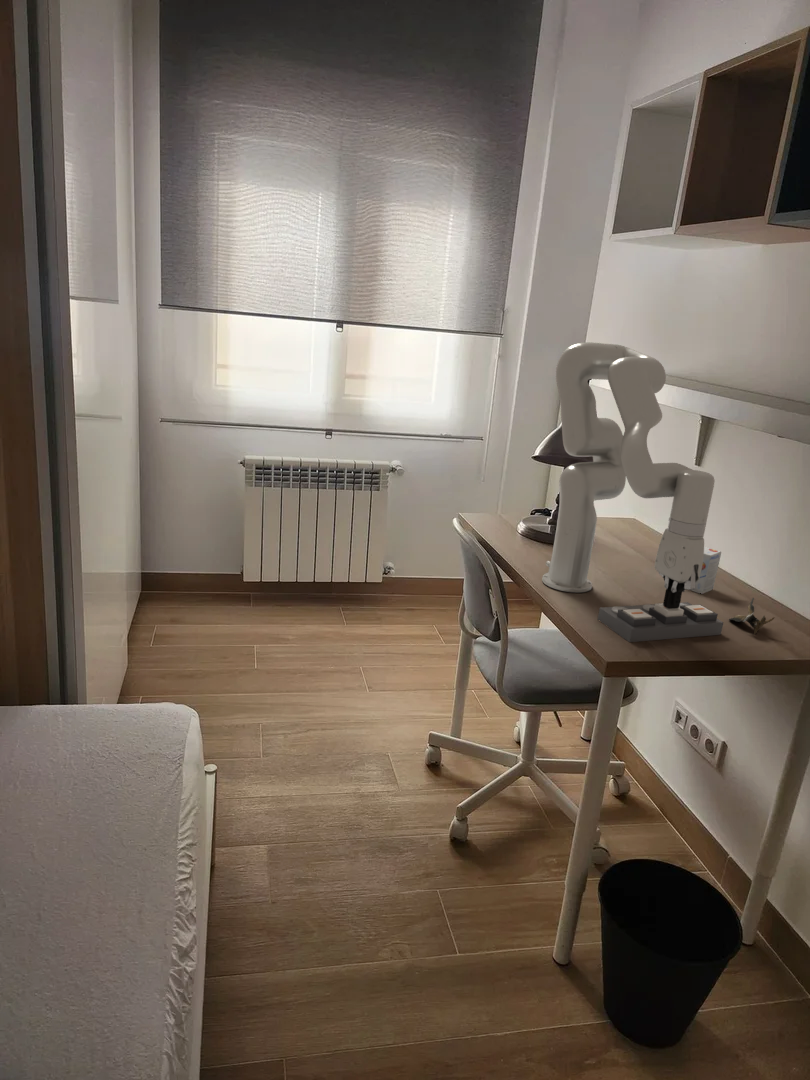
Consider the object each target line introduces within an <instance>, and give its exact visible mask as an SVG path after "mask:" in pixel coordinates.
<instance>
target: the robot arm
mask: <svg viewBox="0 0 810 1080" xmlns="http://www.w3.org/2000/svg"><path fill="white" fill-rule="evenodd" d="M555 369H556V370H555V380H556V386H557V391H558V395H559V402H560V403H559V404H560V419H561V420H560V421H561V433H562V434H561V435H562V444H563V447H564V448H563V449H564V451H565V453H567V454H568V455H569V456H572V457H578V458H579V457H580V458H583V457H585V458H586V457H589V458H590V457H592V461H584V462H575V463H572V464H570V465H568V466H567V467H565V469H563V471H562V472H561V474H560V476H559V482H558V488H559V490H558V491H559V505H558V506H559V507H558V515H557V521H556V529H555V535H554V541H553V547H552V553H551V560H547V561H545V566H547V567H548V572H545V573H544V574H543V575H542V578H541V579H542V580H541V581H542V583H544V584H545V585H546V586H548V587H549V588H552V589H554V590H558V591H562V592H567V593H576V594H577V593H586V592H589V591H591V590H592V588H593V583H592V581H591V580H590V579H589V578H588V576H589V570H590V564H591V563H590V562H591V557H592V552H593V546H594V540H595V533H596V527H597V521H598V519H597V518H598V515H597V511H596V508H595V503H594V501H602V500H603V501H604V500H605V501H606V500H611V499H614V498H617V497H618V496H620V495H621V494H622V493H623V491H624V488H626V487H625V486H626V481H627V483H628V484H629V486H630V488H631V490H632V492H633V493H635V494H636V495H637V496H638V497H639V498H642V499H658V498H673V499H672V503H671V504H672V505H671V510H670V515H669V518H668V525H667V528H665V530H664V532H663V533H662V536H661V539H660V542H659V545H658V549H657V552H656V556H655V559H654V560H655V561H654V569H655V570H656V572H657V573H658V574H659V576H661V577H662V578H663V581H664V588H665V592H664V598H663V602H662V603H663V606H665V607H666V608H668V609H672V608H679V606H680V603H681V602H682V601H681V599H682V595H683V593H684V592H685V591H686V590H688V591H691V590H690V589H695V582H697V581H698V580H699V578H700V574H701V570H702V564H703V556H704V547H705V537H704V536H705V531H706V527H707V522H708V521H707V520H708V517H709V511H710V507H711V501H712V499H713V498H712V497H713V492H714V488H715V482H716V481H715V480H716V479H715V477H714V475H713V474H712V473H709V472H706V471H702V470H697V469H695V470H694V469H692V468H690V467H688V466H686V465H683V464H681V463H678V462H658V463H653V460H652V458H651V454H650V452H649V448H648V436H649V433H650V431H651V429H653V428H654V427H656V426H657V425H658V424H659V423H660V422H661V421H662V419H663V412H662V409H661V407H660V404H659V402H658V400H657V397H656V394H657V393H658V392H660V391H661V390H662V389H663V388H664V386H665V383H666V377H667V376H666V375H667V374H666V369H665V368H664V366H663V364H662V363H661V362H660V361H659V360H658V359H656V358H654V357H651V356H649V355H647V354H645V353H642V352H639V351H637V350H634V349H632V348H630V347H627V346H625V345H620V344H614V343H602V342H601V343H600V342H579V343H574V344H572V345H570V346H568V347H567V348H566V349H565V350H563V352H562V354H561V355H560V357H559V359H558V362H557V365H556V368H555ZM589 380H600V381H601V380H605V381H606V380H607V381H608V384H609V387H610V390H611V393H612V396H613V398H614V401H615V404H616V406H617V409H618V412H619V415H620V418H621V420H622V421H621V422H622V423H623V426H624V433H623V431H622V429H621V427H620V425H619V424H618V423H617V421H615V420H613V419H611V418H607V417H598V414H597V401H596V396H595V393H594V391H593V389H592V387H591V386H590V384H589V383H588V381H589ZM679 583H680V584H679Z"/></svg>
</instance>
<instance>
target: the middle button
mask: <svg viewBox="0 0 810 1080" xmlns="http://www.w3.org/2000/svg"><path fill="white" fill-rule="evenodd" d="M654 604H655V607H654V610H656V611H658V612H659V613H661V614H663V615H664V616H666V617H673V616H683V613H684V610H683V609H681V608H672V609H668V608H666V607H665V606H663V602H662V603H660V602H659V603H654Z"/></svg>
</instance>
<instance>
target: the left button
mask: <svg viewBox="0 0 810 1080" xmlns="http://www.w3.org/2000/svg"><path fill="white" fill-rule="evenodd" d="M623 612H624V613H626V614H627V615H629V616H631V617H632V618H634V619H645V618H652V616H650V615H648V614H647V613H645V612H644V611H642V610H641V609H628V610H623Z"/></svg>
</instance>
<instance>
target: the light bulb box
mask: <svg viewBox="0 0 810 1080" xmlns="http://www.w3.org/2000/svg"><path fill="white" fill-rule="evenodd" d="M721 556H722V551H721V550H717V549H713V548H711V547H710V548H709V547H707V546H704V556H703V564H702V570H701V574H700V578H699V580H698V581H697V582H695V589H690V590H689V591H692V592H694V593H697V594H700V593H701V595H703V594H706V593H708V592H710V591H712V589H713V590H714V586H715V582H716V577H717V573H718V569H719V565H720V561H721ZM679 584H680V583H679Z"/></svg>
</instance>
